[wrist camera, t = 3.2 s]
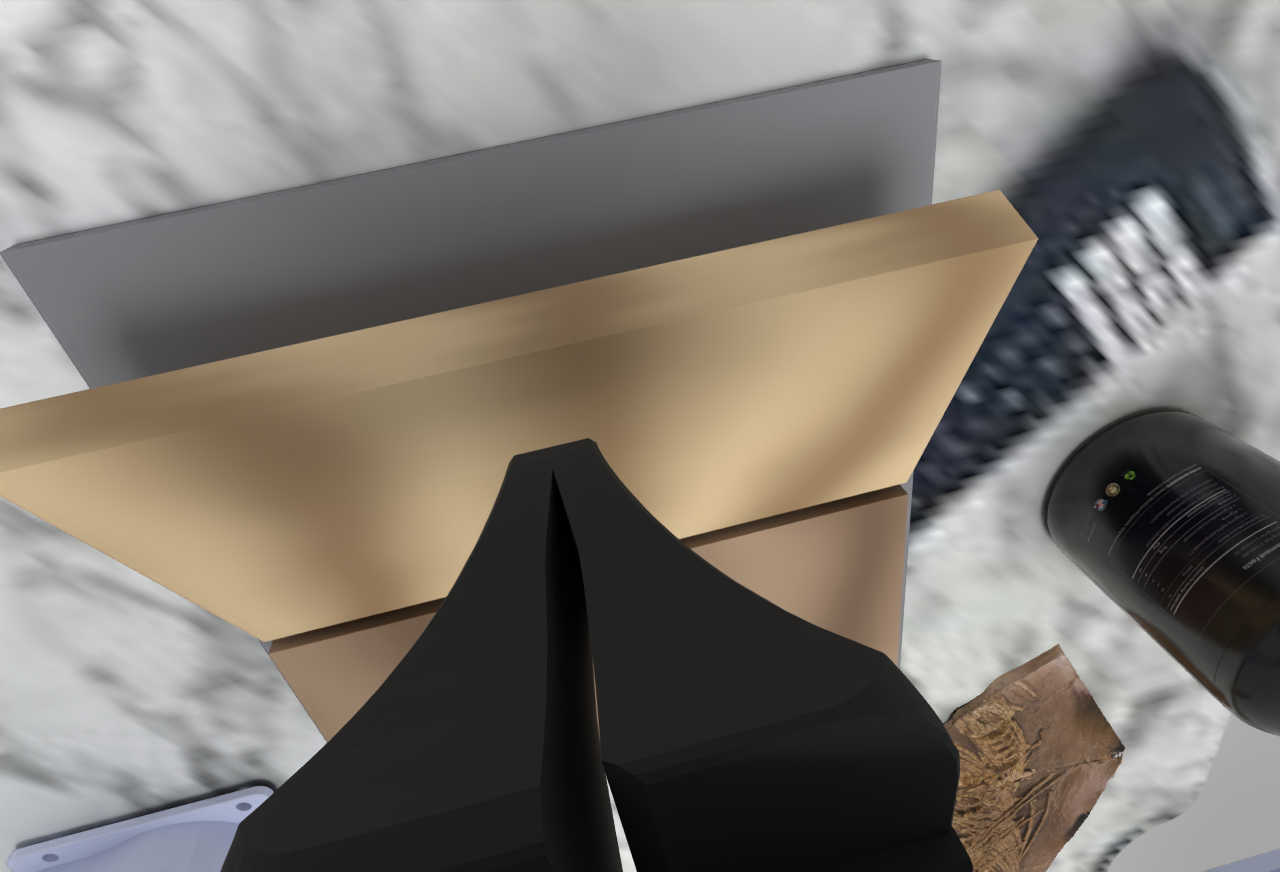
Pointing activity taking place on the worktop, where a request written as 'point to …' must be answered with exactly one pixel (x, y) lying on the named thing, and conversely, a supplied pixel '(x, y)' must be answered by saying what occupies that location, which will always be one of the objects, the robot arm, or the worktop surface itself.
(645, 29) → the worktop surface
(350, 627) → the walnut floorboard
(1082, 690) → the wooden fragment
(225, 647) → the worktop surface
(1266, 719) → the supplement bottle
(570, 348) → the oak plank
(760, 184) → the underlay mat
